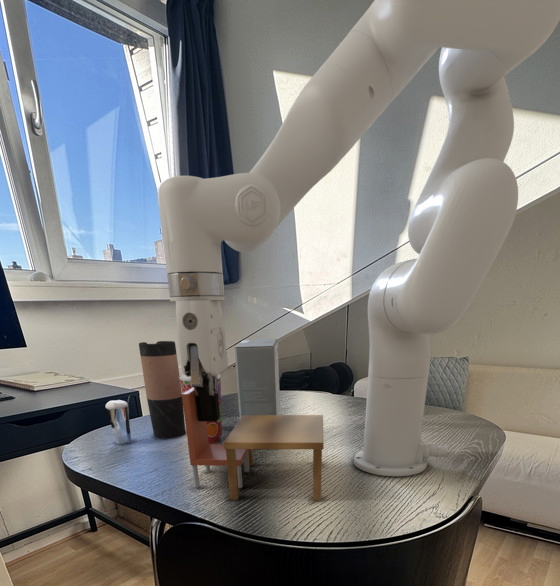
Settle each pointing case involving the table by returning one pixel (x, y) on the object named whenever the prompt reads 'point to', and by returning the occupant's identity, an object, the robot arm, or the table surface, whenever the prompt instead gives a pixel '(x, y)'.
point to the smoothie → (212, 426)
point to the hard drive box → (258, 377)
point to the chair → (206, 443)
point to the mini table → (275, 442)
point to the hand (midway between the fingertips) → (209, 419)
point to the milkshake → (119, 420)
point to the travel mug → (163, 388)
